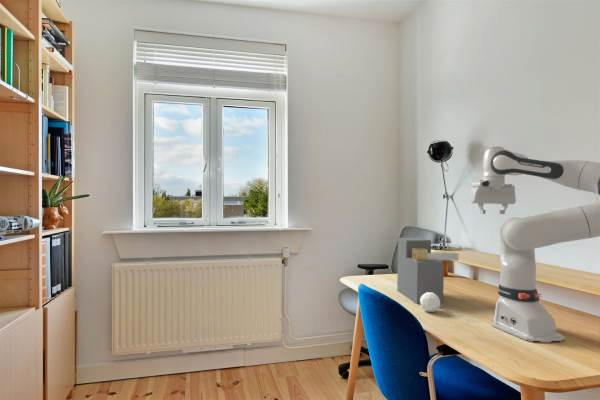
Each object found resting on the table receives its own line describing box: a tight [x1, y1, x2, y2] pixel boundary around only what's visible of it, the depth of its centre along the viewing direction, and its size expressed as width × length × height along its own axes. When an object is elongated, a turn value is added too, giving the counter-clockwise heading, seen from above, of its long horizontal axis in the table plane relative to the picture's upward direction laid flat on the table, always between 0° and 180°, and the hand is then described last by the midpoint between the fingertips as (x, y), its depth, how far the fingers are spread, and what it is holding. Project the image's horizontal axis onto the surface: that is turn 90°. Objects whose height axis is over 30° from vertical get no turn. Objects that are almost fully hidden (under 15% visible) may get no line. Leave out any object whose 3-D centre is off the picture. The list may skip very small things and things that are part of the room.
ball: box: [419, 292, 441, 313], centre depth 145 cm, size 8×8×8 cm
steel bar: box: [412, 248, 459, 261], centre depth 162 cm, size 5×20×5 cm, turn 96°
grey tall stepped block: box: [396, 237, 445, 305], centre depth 167 cm, size 22×12×26 cm, turn 7°
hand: (492, 213), depth 163 cm, fingers open, 8 cm apart
